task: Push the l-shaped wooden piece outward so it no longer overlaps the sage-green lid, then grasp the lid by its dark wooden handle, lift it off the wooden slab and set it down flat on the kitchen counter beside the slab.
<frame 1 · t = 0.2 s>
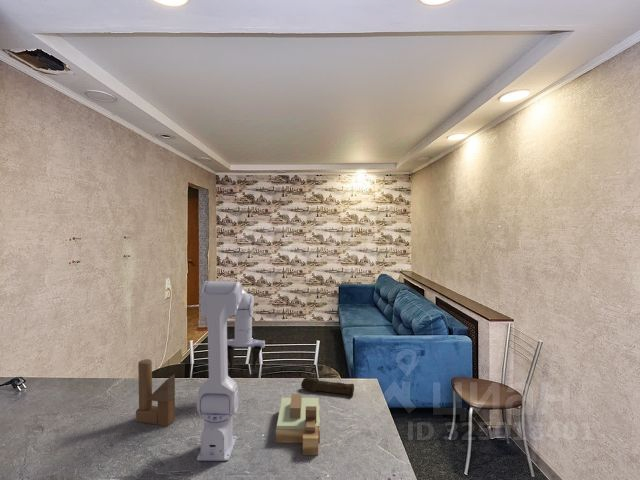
hand: (243, 367, 119), 10 cm above the kitchen counter, tool pointing down, fingers open, 7 cm apart
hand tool: (327, 393, 123), on the kitchen counter
wooden slab: (299, 425, 103), on the kitchen counter
lid: (299, 414, 103), point 3 cm above the kitchen counter, touching wooden slab
wooden block: (155, 421, 104), on the kitchen counter
l-shaped wooden piece: (310, 418, 95), point 6 cm above the kitchen counter, slide at 0.0 cm
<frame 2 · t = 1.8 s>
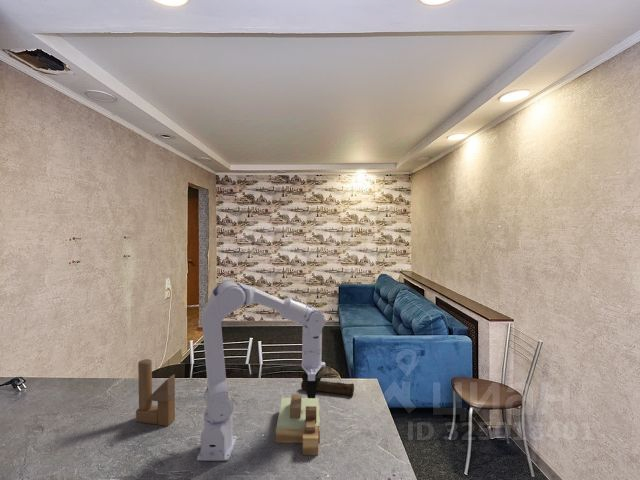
hand: (311, 393, 103), 9 cm above the kitchen counter, tool pointing down, fingers open, 4 cm apart
nothing on the kitchen counter moved.
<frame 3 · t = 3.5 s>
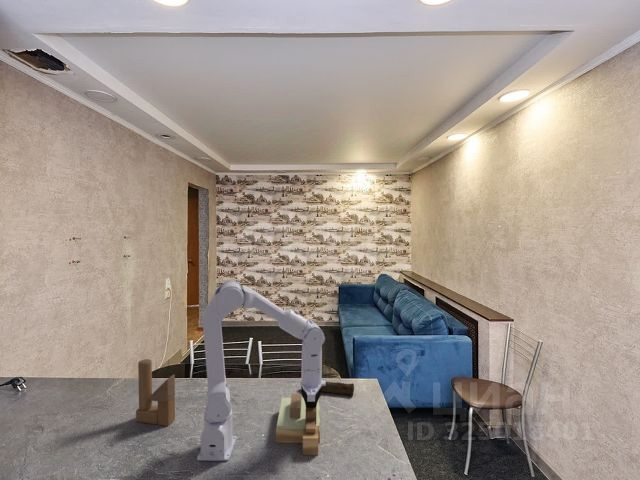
hand: (310, 413, 99), 6 cm above the kitchen counter, tool pointing down, fingers closed
l-shaped wooden piece: (310, 420, 95), point 6 cm above the kitchen counter, slide at 0.7 cm, touching gripper
everything else where it was.
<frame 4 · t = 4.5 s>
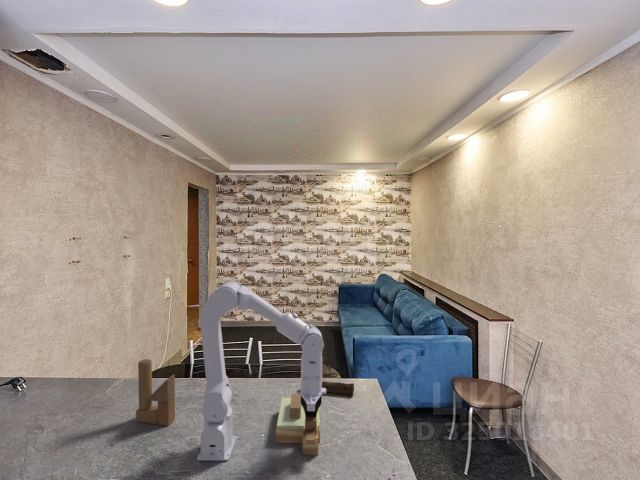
hand: (310, 422, 94), 6 cm above the kitchen counter, tool pointing down, fingers closed
l-shaped wooden piece: (310, 430, 90), point 7 cm above the kitchen counter, slide at 5.3 cm, touching gripper
everything else where it was.
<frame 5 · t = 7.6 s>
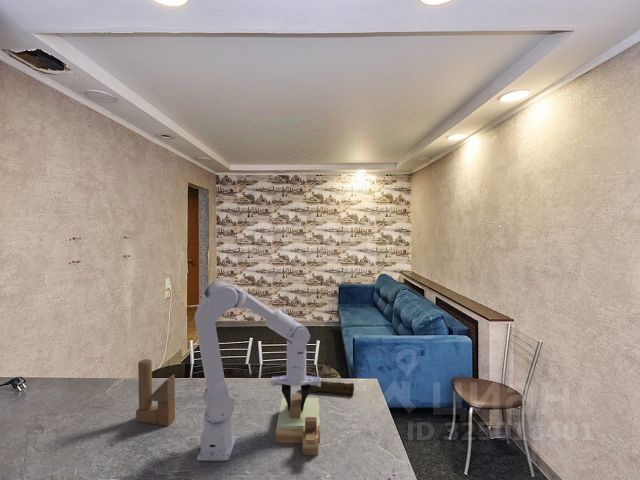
hand: (295, 409, 103), 5 cm above the kitchen counter, tool pointing down, fingers closed on lid, 3 cm apart
lid: (299, 414, 103), point 3 cm above the kitchen counter, touching gripper, wooden slab
l-shaped wooden piece: (310, 430, 90), point 7 cm above the kitchen counter, slide at 5.4 cm
everything else where it was.
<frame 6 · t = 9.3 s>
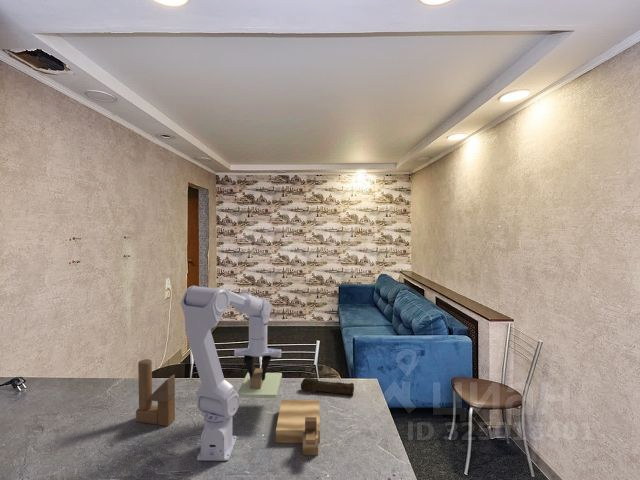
hand: (257, 378, 110), 10 cm above the kitchen counter, tool pointing down, fingers closed on lid, 3 cm apart
lid: (261, 386, 110), point 8 cm above the kitchen counter, touching gripper
everything else where it was.
when the fingers open (4 cm above the kitchen counter, at t = 11.2 s): lid drops 2 cm, on the kitchen counter.
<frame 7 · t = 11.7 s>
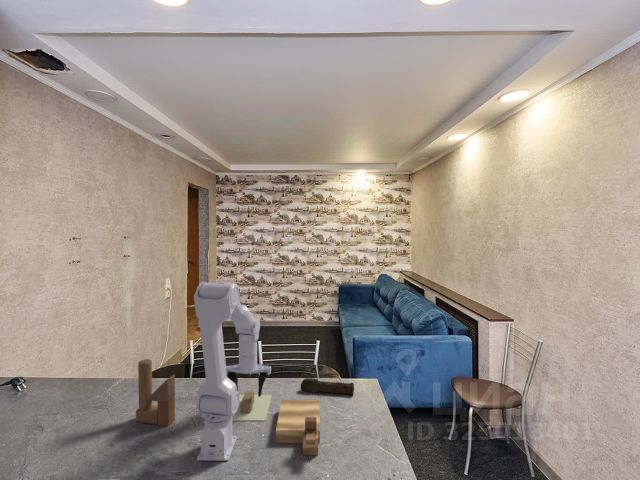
hand: (247, 395, 113), 4 cm above the kitchen counter, tool pointing down, fingers open, 7 cm apart
lid: (250, 409, 113), on the kitchen counter
everything else where it was.
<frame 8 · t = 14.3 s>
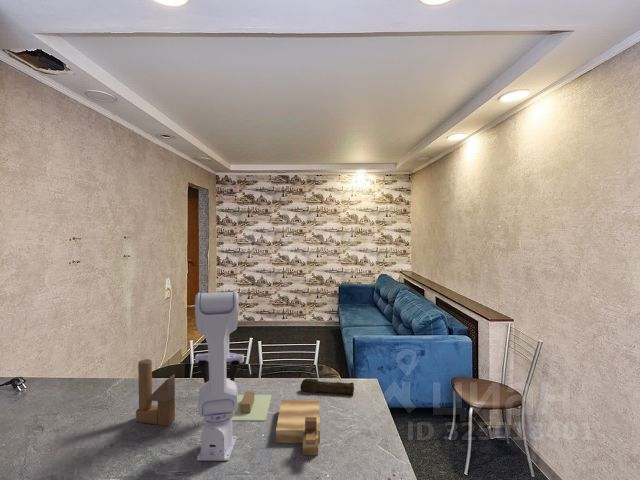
hand: (219, 384, 108), 9 cm above the kitchen counter, tool pointing down, fingers open, 7 cm apart
nothing on the kitchen counter moved.
at the end: l-shaped wooden piece slide at 5.4 cm; lid inside the target area (0.1 cm from its centre), on the kitchen counter; lid tilted 0° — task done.
